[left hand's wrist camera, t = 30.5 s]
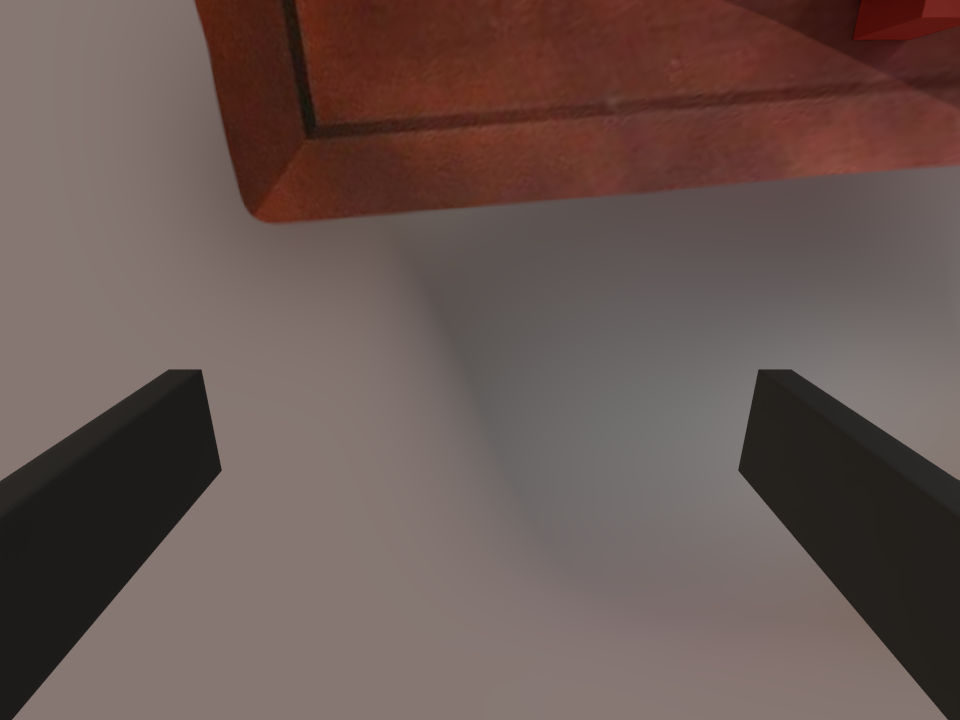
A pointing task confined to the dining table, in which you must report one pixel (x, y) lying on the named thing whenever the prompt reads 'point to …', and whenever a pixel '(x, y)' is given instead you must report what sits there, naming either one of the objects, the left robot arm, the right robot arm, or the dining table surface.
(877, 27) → the block
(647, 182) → the dining table surface
